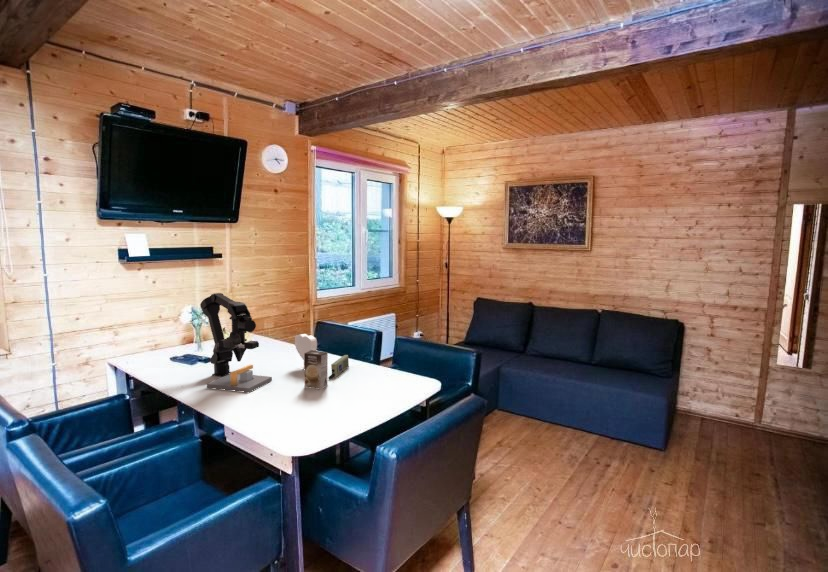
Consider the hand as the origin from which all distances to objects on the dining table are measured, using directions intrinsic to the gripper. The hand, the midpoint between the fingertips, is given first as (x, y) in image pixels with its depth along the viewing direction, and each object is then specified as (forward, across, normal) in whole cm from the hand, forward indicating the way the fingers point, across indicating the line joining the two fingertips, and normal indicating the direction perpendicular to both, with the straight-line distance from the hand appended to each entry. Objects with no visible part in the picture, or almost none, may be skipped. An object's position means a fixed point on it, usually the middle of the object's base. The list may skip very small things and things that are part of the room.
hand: (239, 361), depth 213 cm
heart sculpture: (+10, +20, +28) cm, 36 cm away
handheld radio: (+10, +40, +26) cm, 48 cm away
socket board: (+9, +4, -5) cm, 11 cm away
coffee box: (+9, +39, +3) cm, 40 cm away
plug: (+9, +6, -3) cm, 12 cm away
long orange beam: (+7, +6, -6) cm, 11 cm away
